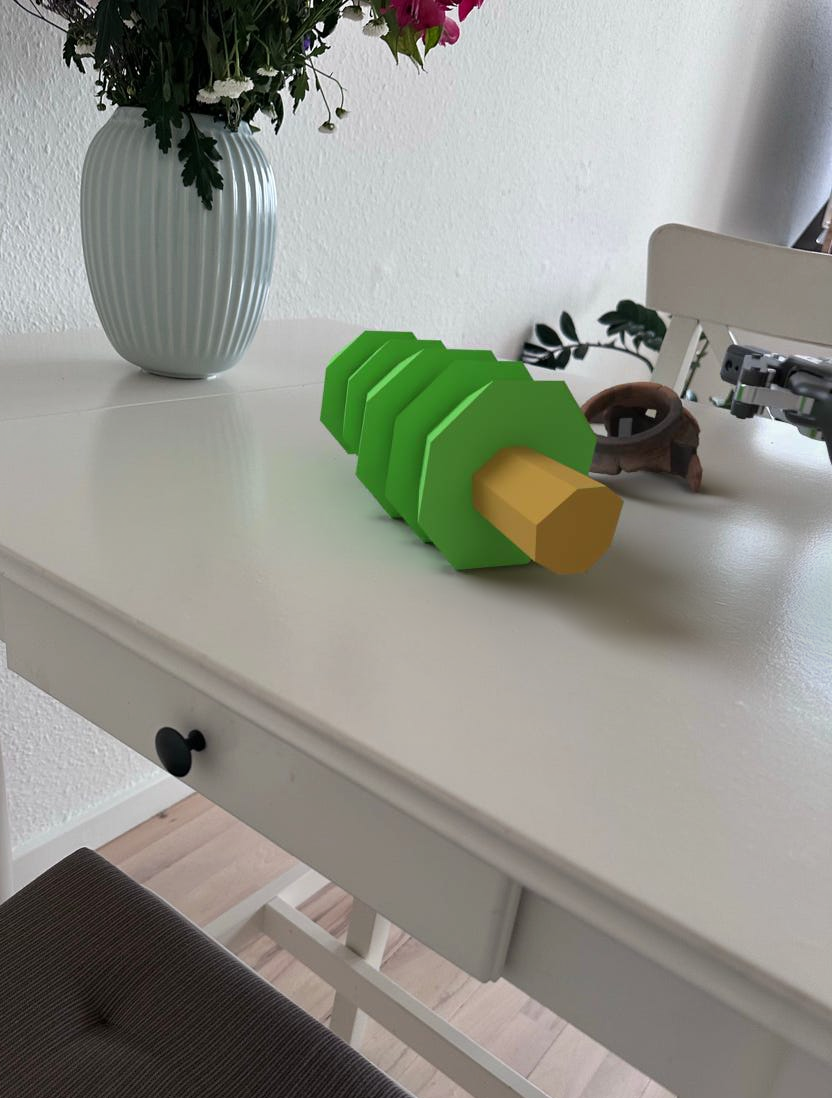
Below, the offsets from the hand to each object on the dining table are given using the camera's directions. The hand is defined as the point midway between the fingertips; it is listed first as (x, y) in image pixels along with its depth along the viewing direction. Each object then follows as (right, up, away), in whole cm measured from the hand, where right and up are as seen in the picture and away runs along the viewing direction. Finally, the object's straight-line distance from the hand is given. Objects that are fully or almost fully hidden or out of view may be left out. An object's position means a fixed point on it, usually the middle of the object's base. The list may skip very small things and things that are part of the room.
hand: (733, 361), depth 60 cm
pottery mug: (-3, -6, +12) cm, 13 cm away
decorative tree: (-19, -10, 0) cm, 21 cm away
